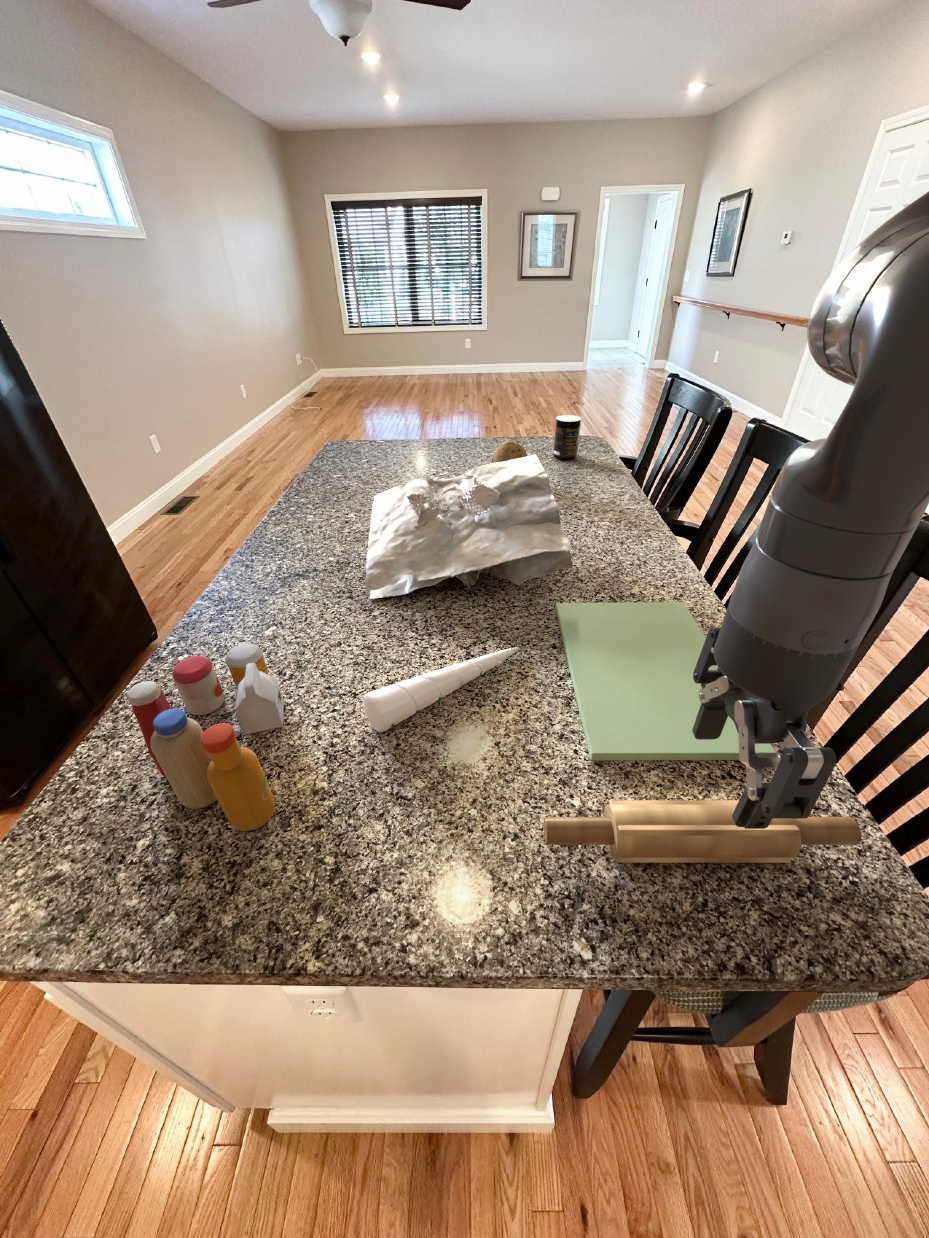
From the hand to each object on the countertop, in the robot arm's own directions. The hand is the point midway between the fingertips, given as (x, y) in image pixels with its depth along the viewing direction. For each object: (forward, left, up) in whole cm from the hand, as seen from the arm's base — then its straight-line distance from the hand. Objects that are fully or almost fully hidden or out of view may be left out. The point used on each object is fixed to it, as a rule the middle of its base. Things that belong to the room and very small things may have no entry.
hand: (723, 775), depth 42 cm
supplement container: (+94, -68, -11) cm, 116 cm away
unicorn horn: (+32, +8, -11) cm, 35 cm away
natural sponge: (+88, -44, -11) cm, 99 cm away
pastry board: (+20, -16, -11) cm, 28 cm away
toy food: (+38, +34, -11) cm, 52 cm away
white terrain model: (+62, -14, -11) cm, 64 cm away
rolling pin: (0, 0, -11) cm, 11 cm away
